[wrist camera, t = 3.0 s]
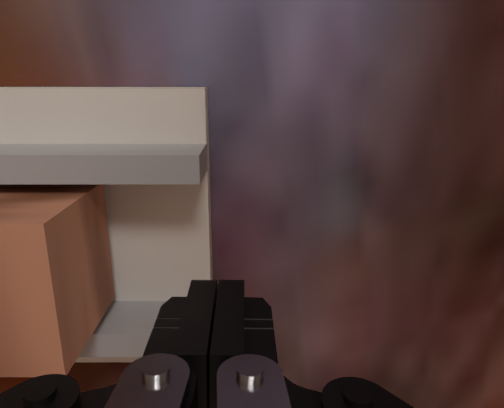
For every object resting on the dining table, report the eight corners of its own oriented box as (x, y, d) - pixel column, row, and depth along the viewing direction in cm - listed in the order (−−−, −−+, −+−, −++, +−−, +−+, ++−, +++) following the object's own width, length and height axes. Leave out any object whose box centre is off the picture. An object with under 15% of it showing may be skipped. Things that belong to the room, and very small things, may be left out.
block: (103, 181, 17) (43, 223, 12) (114, 297, 18) (65, 377, 13) (-52, 181, 17) (-176, 224, 12) (-29, 297, 18) (-129, 377, 13)
